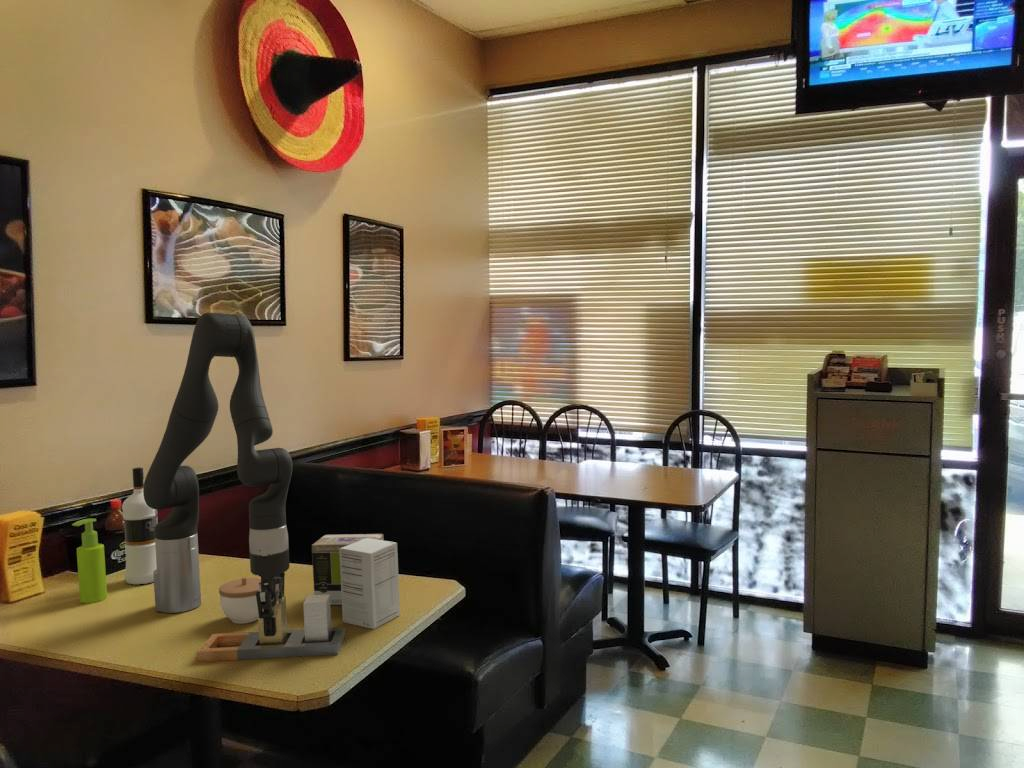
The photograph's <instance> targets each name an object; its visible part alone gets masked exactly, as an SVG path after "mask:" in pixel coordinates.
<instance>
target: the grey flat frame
mask: <svg viewBox="0 0 1024 768" xmlns="http://www.w3.org/2000/svg"><path fill="white" fill-rule="evenodd" d="M331 629H332V641H331V642H322V643H305V628H304V629H287V636H288V641H287V642H286V644H283V645H264V646H260V645H259V631H246V632H245V631H244V632H243V631H242V632H226V633H225V632H224V633H212V634H211V635H210V637H209V638H208V639H207V641H206V642H205V643H203V645H202V646H201V648H200V649H199V650H198V651H197V659H198V662H200V663H201V662H202V663H203V662H204V663H205V662H219V661H220V662H221V661H222V662H223V661H240V660H242V661H243V660H258V659H276V658H297V657H314V656H316V657H317V656H332V655H333V656H337V655H339V653H340V650H341V647H342V645H343V643H344V639H345V638H346V637H345V636H346V634H345V627H344V626H343V627H331ZM223 646H226V647H223ZM228 646H229V647H228Z"/></svg>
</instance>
